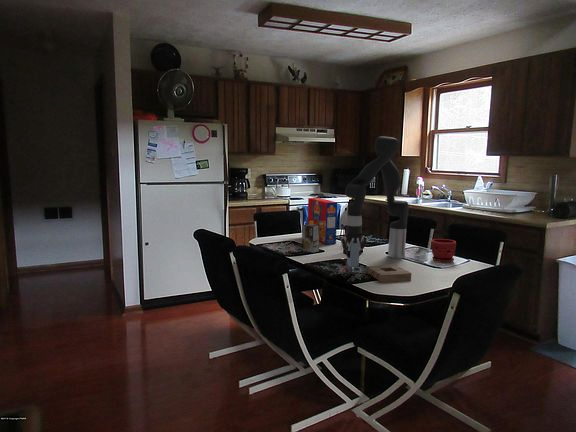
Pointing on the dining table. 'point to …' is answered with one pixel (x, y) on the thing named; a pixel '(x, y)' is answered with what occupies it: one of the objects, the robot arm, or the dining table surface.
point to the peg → (353, 255)
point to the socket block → (388, 273)
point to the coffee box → (310, 238)
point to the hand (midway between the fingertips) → (353, 257)
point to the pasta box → (323, 218)
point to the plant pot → (443, 250)
